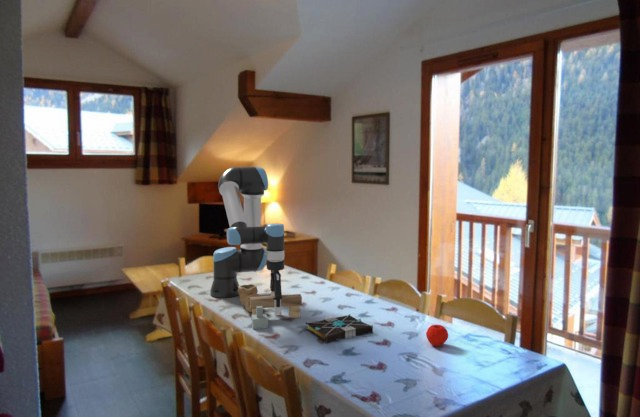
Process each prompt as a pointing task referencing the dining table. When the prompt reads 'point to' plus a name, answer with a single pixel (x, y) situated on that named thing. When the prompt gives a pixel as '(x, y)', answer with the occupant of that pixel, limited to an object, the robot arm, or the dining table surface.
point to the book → (338, 328)
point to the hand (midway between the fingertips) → (275, 309)
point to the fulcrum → (259, 319)
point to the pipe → (247, 294)
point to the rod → (269, 302)
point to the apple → (437, 335)
